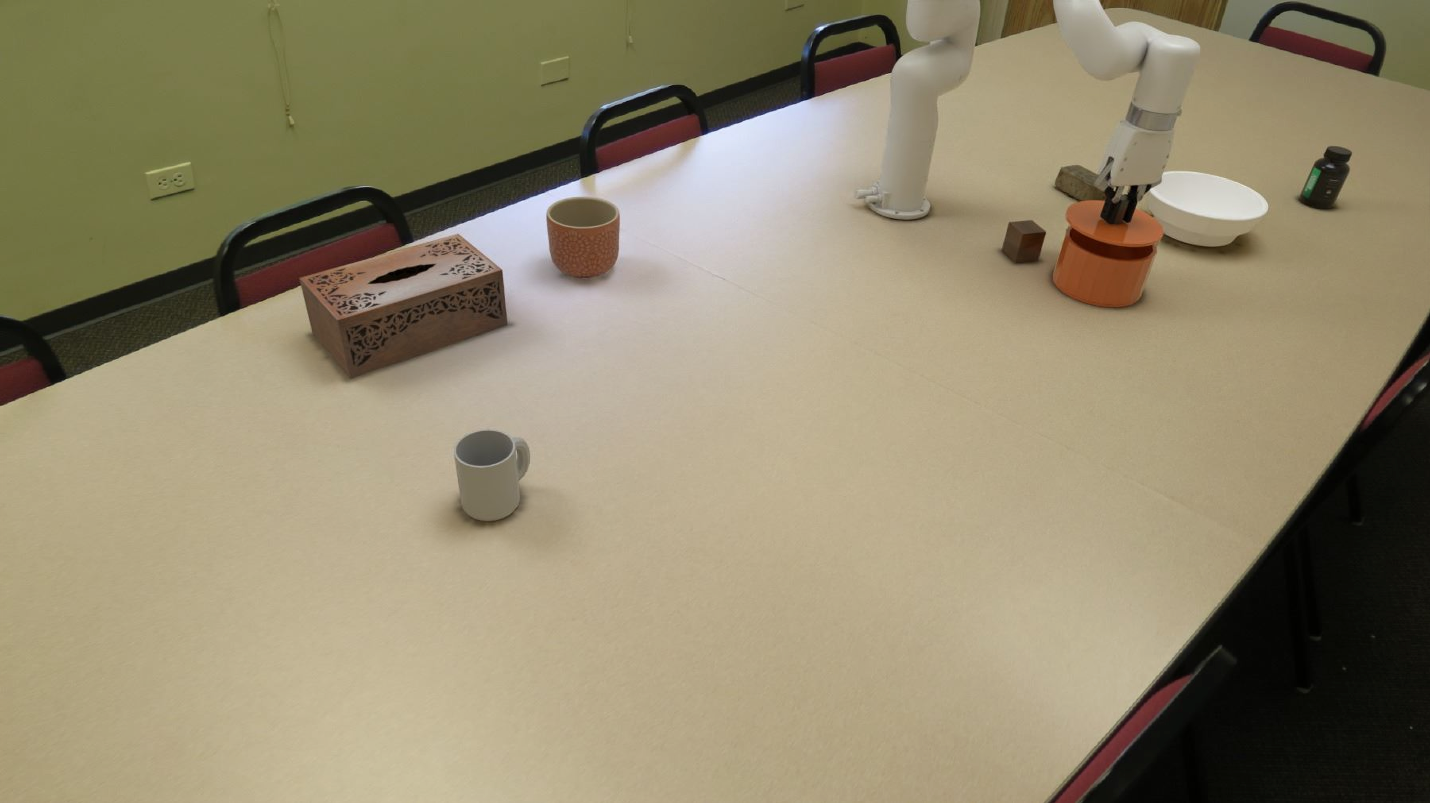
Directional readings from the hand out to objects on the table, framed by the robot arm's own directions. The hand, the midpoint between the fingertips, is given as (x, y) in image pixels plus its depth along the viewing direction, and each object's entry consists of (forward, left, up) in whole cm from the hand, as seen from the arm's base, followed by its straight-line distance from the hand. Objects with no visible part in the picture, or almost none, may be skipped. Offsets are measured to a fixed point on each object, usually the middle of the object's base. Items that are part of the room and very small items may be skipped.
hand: (1115, 219), depth 166 cm
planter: (-89, +24, -13) cm, 93 cm away
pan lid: (0, 0, -1) cm, 1 cm away
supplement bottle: (+71, +22, -13) cm, 76 cm away
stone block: (+20, +35, -13) cm, 42 cm away
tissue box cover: (-119, +10, -13) cm, 120 cm away
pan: (0, 0, -13) cm, 13 cm away
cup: (-110, -32, -13) cm, 115 cm away
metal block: (-8, +13, -13) cm, 20 cm away
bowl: (+33, +15, -13) cm, 39 cm away
